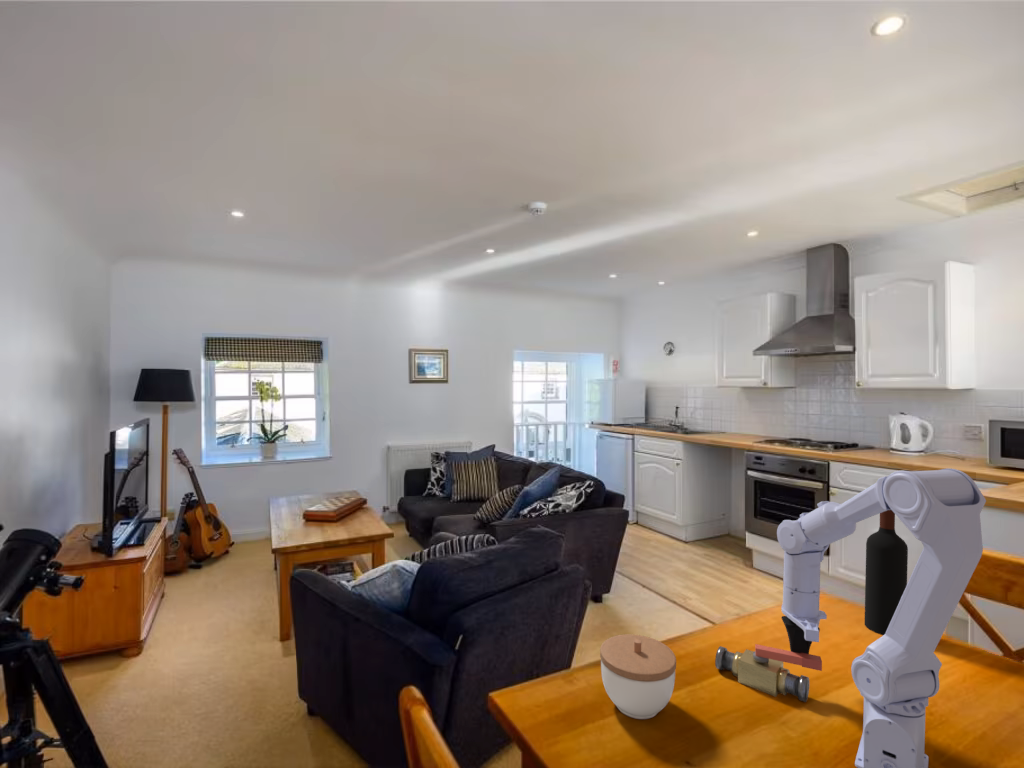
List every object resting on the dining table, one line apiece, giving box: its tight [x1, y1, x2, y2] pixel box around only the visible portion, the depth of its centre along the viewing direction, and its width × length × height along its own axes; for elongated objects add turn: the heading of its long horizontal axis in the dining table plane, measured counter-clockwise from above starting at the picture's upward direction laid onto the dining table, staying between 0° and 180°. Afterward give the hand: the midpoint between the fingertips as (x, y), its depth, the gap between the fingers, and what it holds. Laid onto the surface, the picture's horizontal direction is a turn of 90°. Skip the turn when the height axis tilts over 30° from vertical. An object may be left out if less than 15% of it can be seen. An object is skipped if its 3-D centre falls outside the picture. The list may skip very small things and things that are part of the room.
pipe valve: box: [714, 645, 810, 703], centre depth 93 cm, size 15×5×4 cm, turn 49°
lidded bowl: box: [599, 633, 677, 720], centre depth 86 cm, size 13×13×11 cm
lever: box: [753, 643, 823, 672], centre depth 91 cm, size 11×3×2 cm, turn 66°
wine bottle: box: [864, 510, 909, 636], centre depth 113 cm, size 8×8×30 cm
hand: (799, 660), depth 91 cm, fingers closed, pressing on lever
